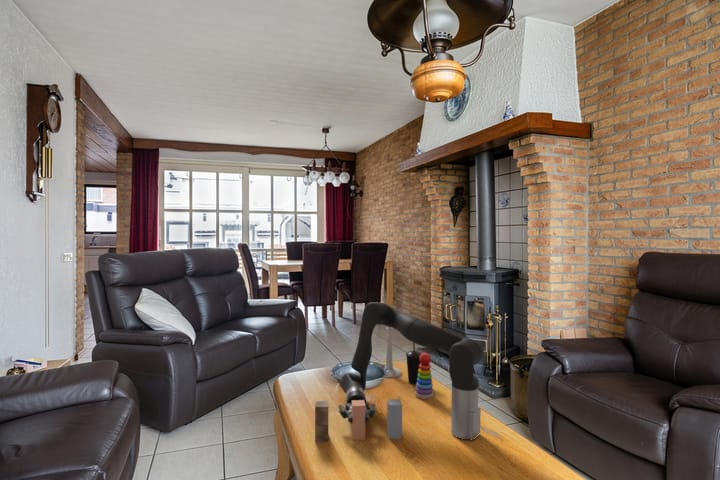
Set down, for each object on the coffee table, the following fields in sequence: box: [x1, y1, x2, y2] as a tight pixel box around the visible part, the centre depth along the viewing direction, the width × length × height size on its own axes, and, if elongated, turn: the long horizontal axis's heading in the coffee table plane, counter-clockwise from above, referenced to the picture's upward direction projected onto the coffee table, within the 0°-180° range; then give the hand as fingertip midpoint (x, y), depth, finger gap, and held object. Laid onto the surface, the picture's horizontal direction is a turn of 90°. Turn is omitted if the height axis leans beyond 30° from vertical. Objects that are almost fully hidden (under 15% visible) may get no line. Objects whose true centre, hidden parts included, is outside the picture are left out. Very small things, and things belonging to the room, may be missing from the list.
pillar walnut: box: [314, 400, 329, 443], centre depth 142 cm, size 4×4×12 cm
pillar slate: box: [386, 398, 403, 440], centre depth 144 cm, size 4×4×12 cm
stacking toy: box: [414, 352, 434, 400], centre depth 177 cm, size 8×8×19 cm
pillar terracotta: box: [351, 400, 366, 441], centre depth 143 cm, size 4×4×12 cm
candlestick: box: [384, 326, 403, 379], centre depth 204 cm, size 13×13×30 cm
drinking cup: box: [405, 342, 422, 385], centre depth 192 cm, size 8×8×20 cm
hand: (358, 420), depth 140 cm, fingers closed on pillar terracotta, 4 cm apart
